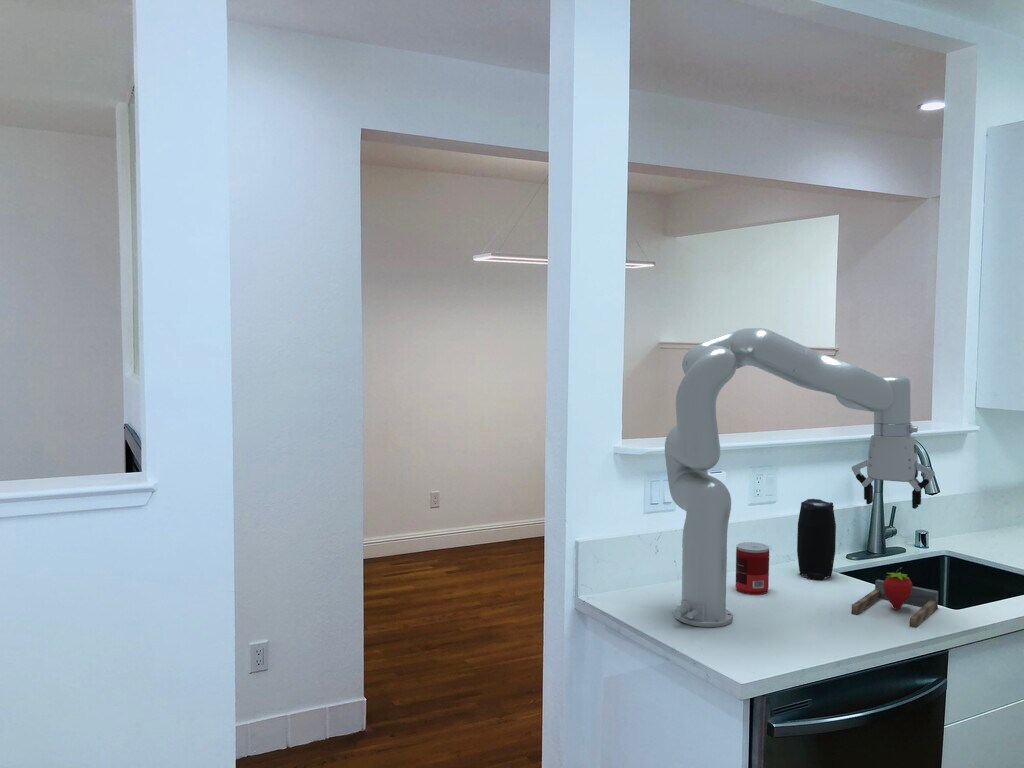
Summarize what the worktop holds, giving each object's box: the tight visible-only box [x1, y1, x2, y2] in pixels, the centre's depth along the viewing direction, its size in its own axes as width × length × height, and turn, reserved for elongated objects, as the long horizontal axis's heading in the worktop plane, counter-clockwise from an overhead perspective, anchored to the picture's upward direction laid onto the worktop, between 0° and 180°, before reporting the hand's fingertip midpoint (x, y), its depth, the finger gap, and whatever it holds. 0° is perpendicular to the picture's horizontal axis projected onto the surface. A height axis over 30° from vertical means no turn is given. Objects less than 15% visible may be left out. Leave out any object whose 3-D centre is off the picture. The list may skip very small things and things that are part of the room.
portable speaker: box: [796, 498, 837, 581], centre depth 214 cm, size 9×9×20 cm
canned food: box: [735, 541, 770, 596], centre depth 202 cm, size 8×8×11 cm
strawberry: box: [883, 567, 913, 610], centre depth 188 cm, size 6×8×10 cm
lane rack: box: [851, 579, 939, 629], centre depth 187 cm, size 17×13×4 cm
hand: (892, 505), depth 188 cm, fingers open, 9 cm apart
